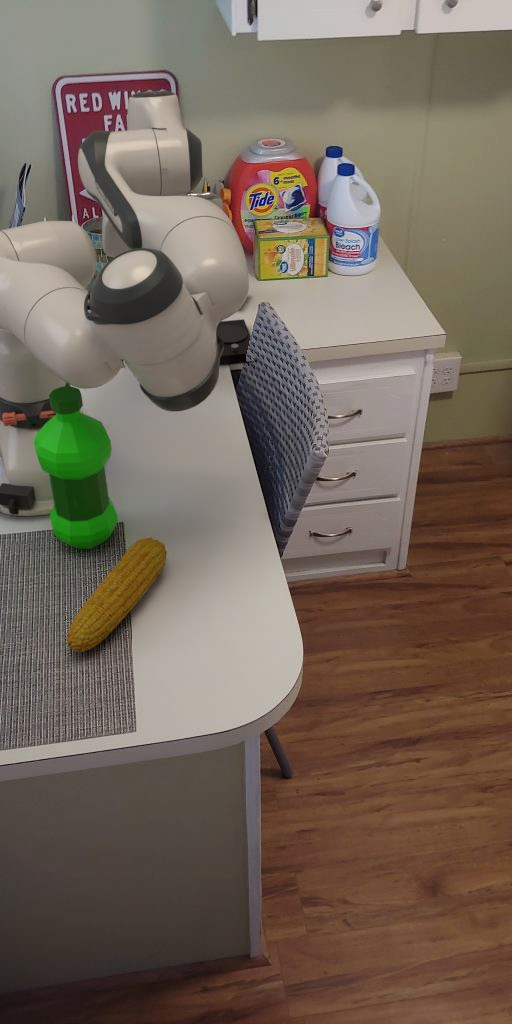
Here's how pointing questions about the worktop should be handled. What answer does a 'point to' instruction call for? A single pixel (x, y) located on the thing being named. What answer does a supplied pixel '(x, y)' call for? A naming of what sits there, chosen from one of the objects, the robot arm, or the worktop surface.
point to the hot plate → (233, 341)
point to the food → (117, 594)
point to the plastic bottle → (76, 471)
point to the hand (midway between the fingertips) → (165, 274)
